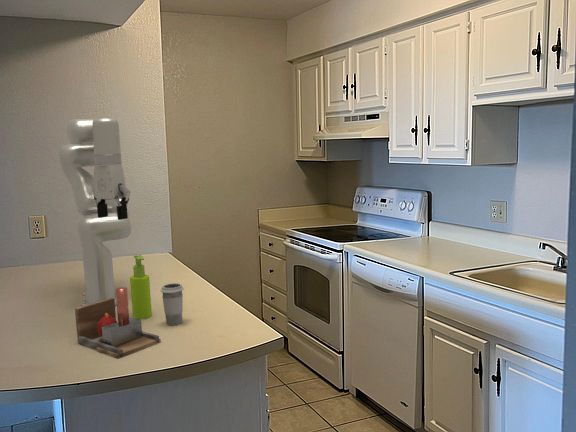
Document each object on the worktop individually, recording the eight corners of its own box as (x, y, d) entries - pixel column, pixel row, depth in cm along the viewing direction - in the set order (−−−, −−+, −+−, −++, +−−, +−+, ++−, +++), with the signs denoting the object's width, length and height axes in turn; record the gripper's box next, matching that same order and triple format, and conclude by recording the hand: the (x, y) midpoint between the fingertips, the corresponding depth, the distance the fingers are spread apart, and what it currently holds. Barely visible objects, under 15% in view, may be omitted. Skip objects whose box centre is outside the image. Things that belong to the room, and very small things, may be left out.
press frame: (74, 343, 158) (71, 309, 157) (116, 329, 169) (114, 296, 168) (118, 358, 146) (115, 321, 144) (160, 342, 157) (158, 307, 155)
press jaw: (101, 344, 153) (97, 290, 151) (131, 333, 161) (127, 282, 159) (113, 348, 150) (108, 293, 148) (143, 336, 158) (139, 285, 156)
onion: (100, 337, 163) (98, 310, 162) (121, 335, 163) (119, 309, 162) (95, 344, 157) (93, 316, 156) (116, 343, 157) (114, 315, 156)
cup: (174, 328, 168) (171, 289, 166) (158, 325, 171) (155, 287, 170) (190, 321, 174) (188, 283, 172) (174, 318, 177) (172, 281, 176)
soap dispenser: (136, 321, 176) (131, 258, 173) (131, 315, 182) (126, 255, 179) (154, 318, 179) (150, 256, 176) (149, 312, 185) (145, 252, 182)
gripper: (80, 161, 168) (85, 218, 170) (115, 161, 157) (119, 221, 160) (101, 160, 174) (106, 214, 176) (137, 160, 163) (141, 218, 166)
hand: (112, 218), depth 168 cm, fingers open, 9 cm apart
